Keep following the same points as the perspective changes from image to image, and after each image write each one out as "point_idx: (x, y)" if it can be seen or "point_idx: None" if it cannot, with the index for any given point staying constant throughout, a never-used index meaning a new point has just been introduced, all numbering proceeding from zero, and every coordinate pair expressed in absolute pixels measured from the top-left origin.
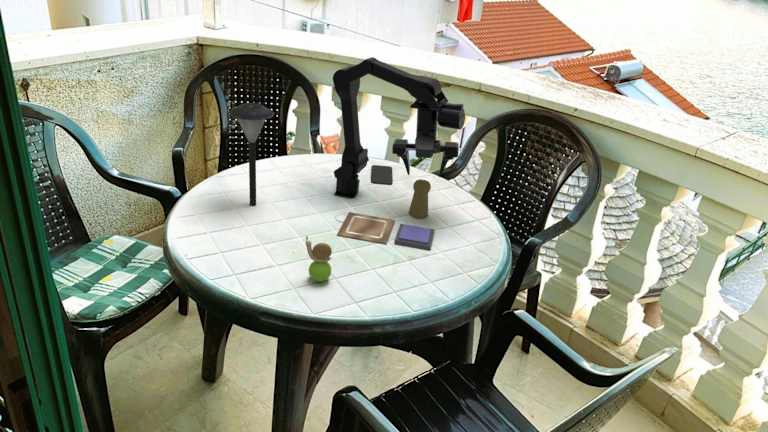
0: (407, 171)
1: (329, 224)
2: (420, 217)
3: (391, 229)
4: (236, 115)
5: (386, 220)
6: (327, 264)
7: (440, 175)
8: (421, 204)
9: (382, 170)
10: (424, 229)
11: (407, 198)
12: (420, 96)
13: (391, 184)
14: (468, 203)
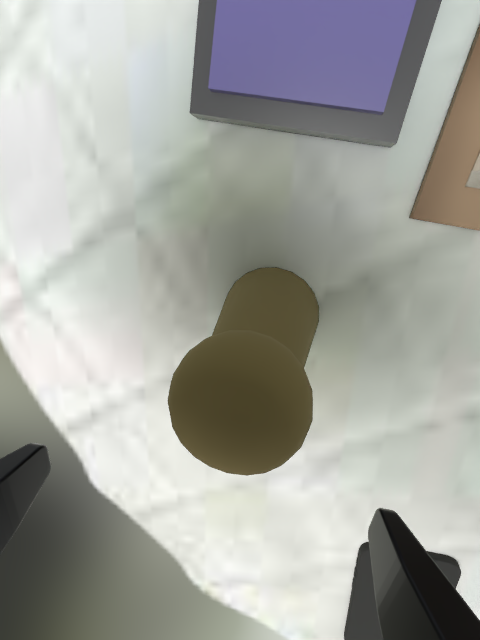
0: (425, 560)
1: None
2: (262, 269)
3: (464, 76)
4: None
5: (472, 201)
6: None
7: (16, 456)
8: (253, 300)
9: None
10: (248, 66)
11: (308, 445)
12: None
13: (365, 544)
14: (76, 415)
